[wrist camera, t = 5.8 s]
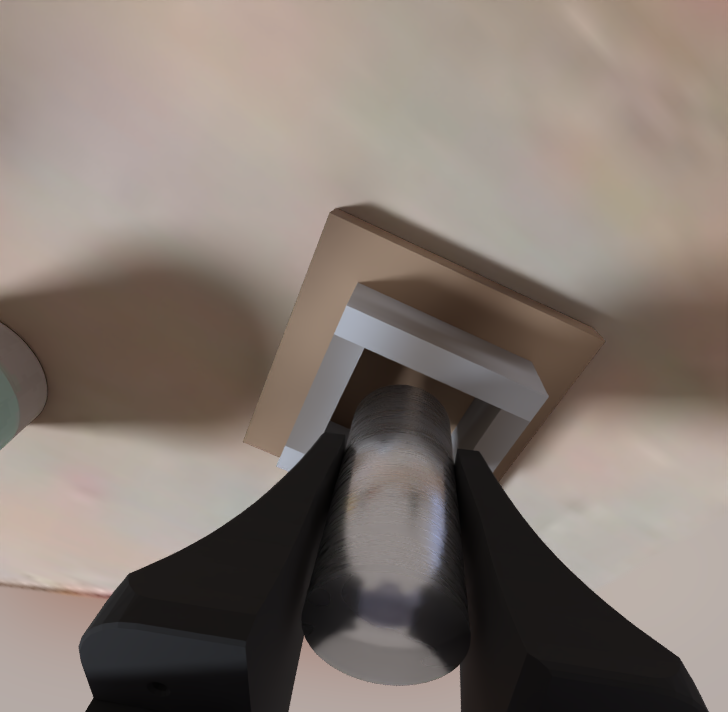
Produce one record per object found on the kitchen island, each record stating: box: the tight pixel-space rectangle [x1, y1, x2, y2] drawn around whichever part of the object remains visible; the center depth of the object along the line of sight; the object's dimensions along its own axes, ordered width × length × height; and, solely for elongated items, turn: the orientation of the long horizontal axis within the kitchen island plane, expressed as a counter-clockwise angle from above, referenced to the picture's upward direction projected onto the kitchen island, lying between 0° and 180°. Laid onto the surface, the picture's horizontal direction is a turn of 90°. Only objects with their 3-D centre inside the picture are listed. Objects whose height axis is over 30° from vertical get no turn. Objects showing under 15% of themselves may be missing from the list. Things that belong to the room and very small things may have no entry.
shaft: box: [301, 385, 471, 686], centre depth 12 cm, size 3×3×7 cm
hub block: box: [243, 208, 605, 482], centre depth 16 cm, size 10×10×4 cm
